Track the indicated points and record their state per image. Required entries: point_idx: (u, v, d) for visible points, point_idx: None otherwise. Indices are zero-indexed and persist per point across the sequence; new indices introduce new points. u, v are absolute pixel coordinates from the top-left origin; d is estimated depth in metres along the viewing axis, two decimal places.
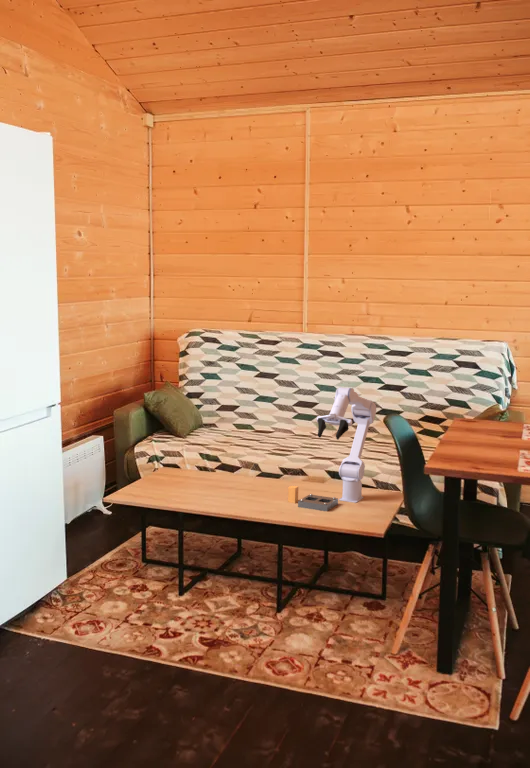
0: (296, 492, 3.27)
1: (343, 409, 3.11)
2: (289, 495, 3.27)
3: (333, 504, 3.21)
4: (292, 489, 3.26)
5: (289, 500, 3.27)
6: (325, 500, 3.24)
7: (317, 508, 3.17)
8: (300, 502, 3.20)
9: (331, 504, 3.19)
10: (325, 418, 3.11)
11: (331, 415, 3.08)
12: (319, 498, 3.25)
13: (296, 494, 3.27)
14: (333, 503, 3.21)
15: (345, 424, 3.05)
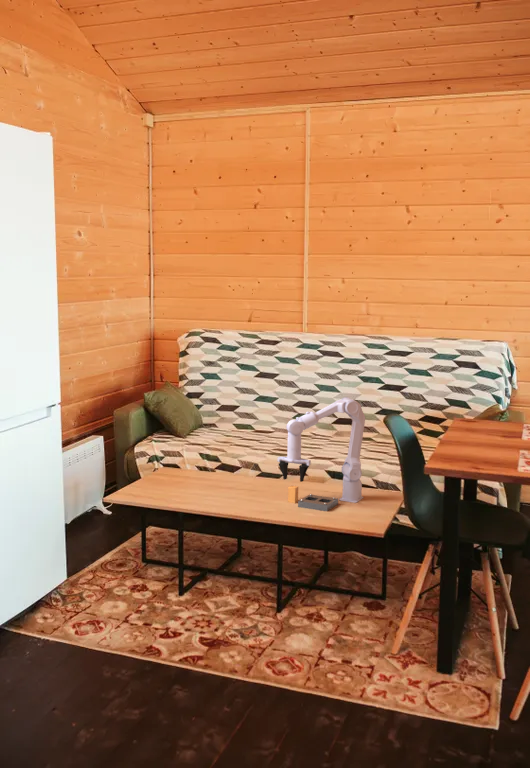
0: (296, 492, 3.27)
1: (298, 449, 3.23)
2: (289, 495, 3.27)
3: (333, 504, 3.21)
4: (292, 489, 3.26)
5: (289, 500, 3.27)
6: (325, 500, 3.24)
7: (317, 508, 3.17)
8: (300, 502, 3.20)
9: (331, 504, 3.19)
10: None
11: (289, 461, 3.24)
12: (319, 498, 3.25)
13: (296, 494, 3.27)
14: (333, 503, 3.21)
15: (305, 468, 3.23)
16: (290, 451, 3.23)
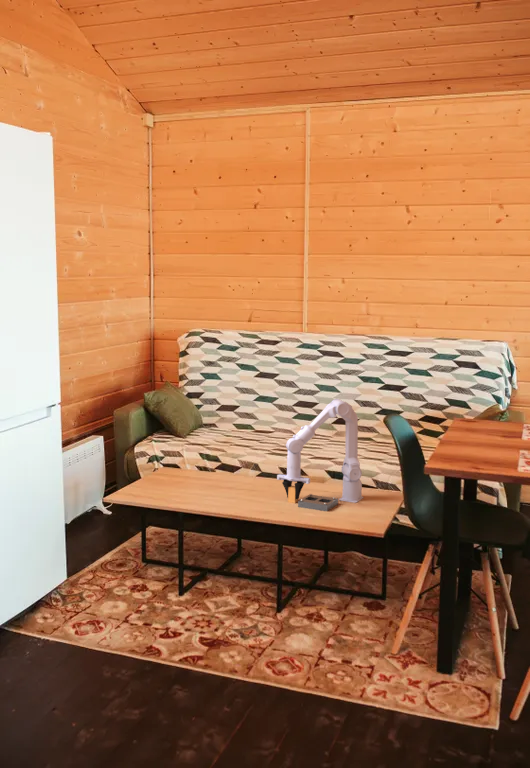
0: None
1: (297, 468, 3.24)
2: (289, 495, 3.27)
3: (333, 504, 3.21)
4: (292, 489, 3.26)
5: (289, 500, 3.27)
6: (325, 500, 3.24)
7: (317, 508, 3.17)
8: (300, 502, 3.20)
9: (331, 504, 3.19)
10: None
11: (289, 479, 3.25)
12: (319, 498, 3.25)
13: None
14: (333, 503, 3.21)
15: (300, 486, 3.24)
16: (290, 469, 3.24)
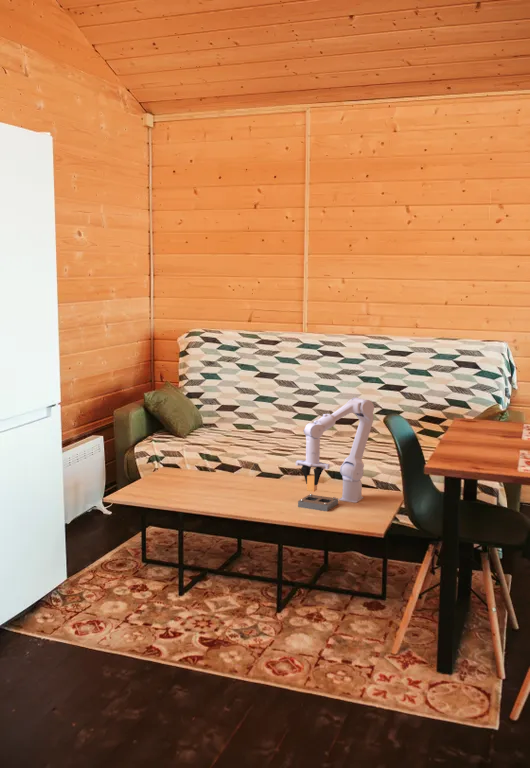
0: None
1: (316, 453, 3.20)
2: (308, 483, 3.23)
3: (333, 504, 3.21)
4: (311, 477, 3.22)
5: (308, 488, 3.23)
6: (325, 500, 3.24)
7: (317, 508, 3.17)
8: (300, 502, 3.20)
9: (331, 504, 3.19)
10: None
11: None
12: (319, 498, 3.25)
13: None
14: (333, 503, 3.21)
15: (319, 471, 3.20)
16: (309, 455, 3.20)
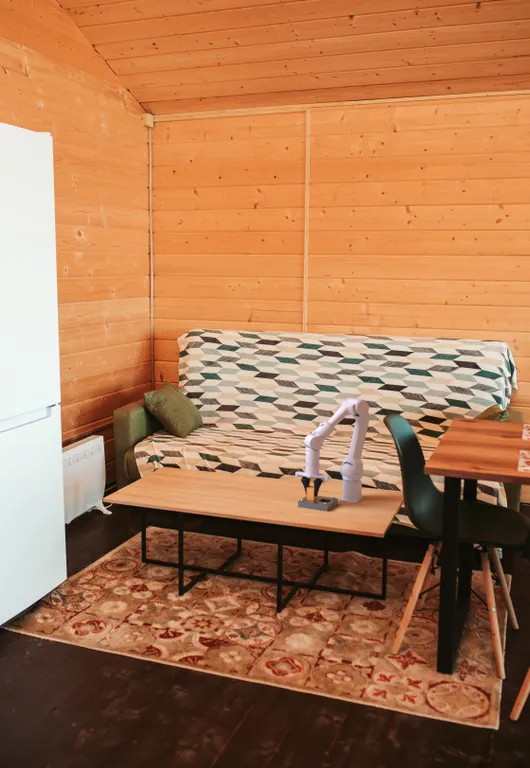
0: None
1: (316, 465, 3.20)
2: (308, 495, 3.23)
3: (333, 504, 3.21)
4: (311, 489, 3.22)
5: None
6: (325, 500, 3.24)
7: (317, 508, 3.17)
8: (300, 502, 3.20)
9: (331, 504, 3.19)
10: None
11: (308, 476, 3.21)
12: (319, 498, 3.25)
13: None
14: (333, 503, 3.21)
15: (319, 483, 3.20)
16: (308, 466, 3.20)
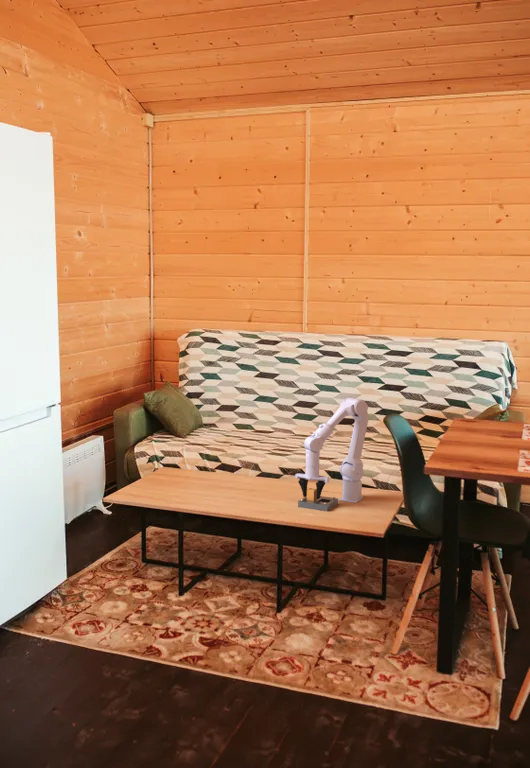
0: (315, 495, 3.23)
1: (316, 467, 3.20)
2: (308, 498, 3.23)
3: (333, 504, 3.21)
4: (311, 492, 3.22)
5: None
6: (325, 500, 3.24)
7: (317, 508, 3.17)
8: (300, 502, 3.20)
9: (331, 504, 3.19)
10: None
11: (307, 478, 3.21)
12: (319, 498, 3.25)
13: (315, 497, 3.23)
14: (333, 503, 3.21)
15: (321, 485, 3.20)
16: (308, 468, 3.20)
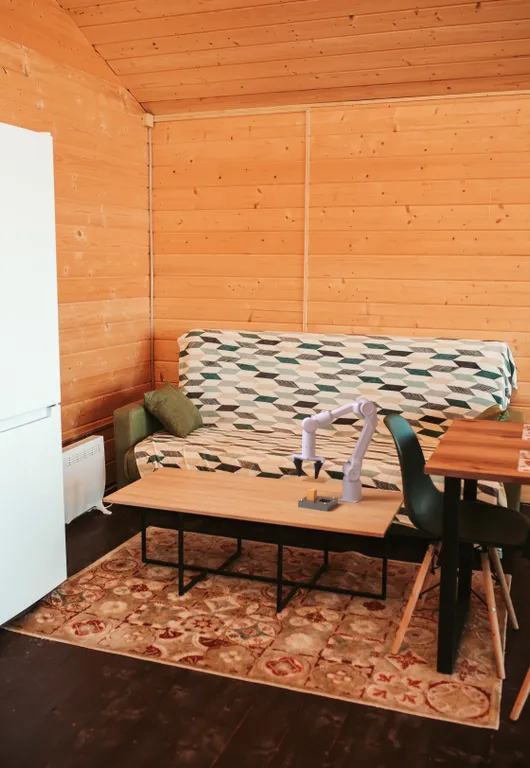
0: (315, 495, 3.23)
1: (312, 447, 3.26)
2: (308, 498, 3.23)
3: (333, 504, 3.21)
4: (311, 492, 3.22)
5: None
6: (325, 500, 3.24)
7: (317, 508, 3.17)
8: (300, 502, 3.20)
9: (331, 504, 3.19)
10: None
11: (304, 459, 3.27)
12: (319, 498, 3.25)
13: (315, 497, 3.23)
14: (333, 503, 3.21)
15: (319, 465, 3.26)
16: (305, 448, 3.27)
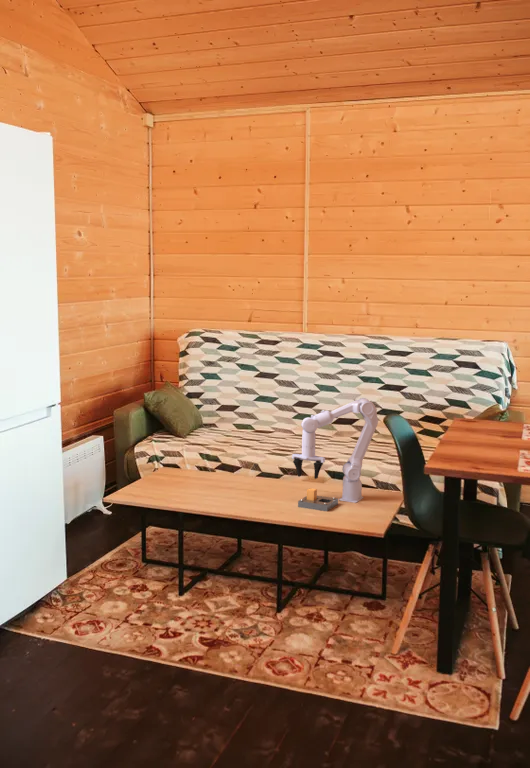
0: (315, 495, 3.23)
1: (312, 447, 3.27)
2: (308, 498, 3.23)
3: (333, 504, 3.21)
4: (311, 492, 3.22)
5: None
6: (325, 500, 3.24)
7: (317, 508, 3.17)
8: (300, 502, 3.20)
9: (331, 504, 3.19)
10: None
11: (304, 458, 3.27)
12: (319, 498, 3.25)
13: (315, 497, 3.23)
14: (333, 503, 3.21)
15: (319, 465, 3.26)
16: (305, 448, 3.27)
